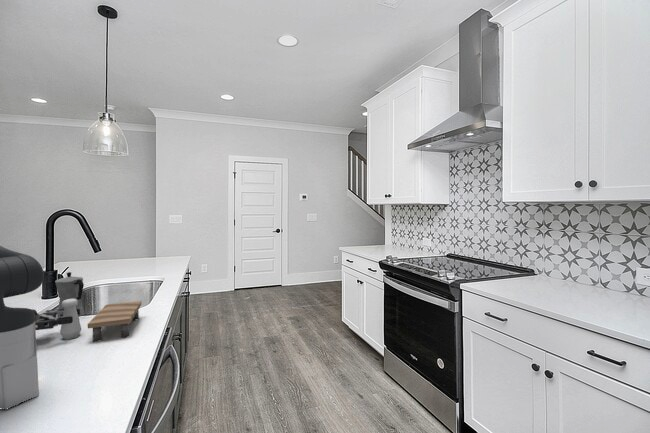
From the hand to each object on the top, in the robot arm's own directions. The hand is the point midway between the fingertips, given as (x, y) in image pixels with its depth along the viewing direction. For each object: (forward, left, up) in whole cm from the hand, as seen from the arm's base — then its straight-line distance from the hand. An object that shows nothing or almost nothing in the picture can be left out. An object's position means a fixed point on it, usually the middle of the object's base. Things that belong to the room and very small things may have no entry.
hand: (76, 315), depth 112 cm
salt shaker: (+1, +1, -7) cm, 8 cm away
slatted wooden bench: (-7, -10, -7) cm, 14 cm away
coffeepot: (+24, -12, -7) cm, 28 cm away
